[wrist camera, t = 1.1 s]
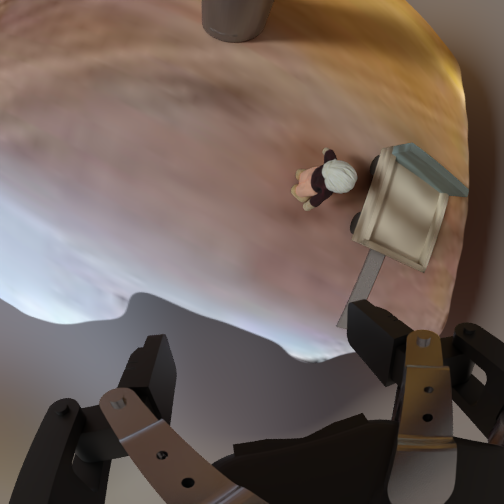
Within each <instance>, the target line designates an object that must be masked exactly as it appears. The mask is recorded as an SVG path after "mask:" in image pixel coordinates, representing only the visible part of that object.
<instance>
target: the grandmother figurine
mask: <svg viewBox="0 0 504 504" xmlns="http://www.w3.org/2000/svg"><path fill="white" fill-rule="evenodd" d="M323 155H324V165H321V166H317V167H312V168H310V169H308V170H305V169H299V170H297V172H296V178H297V180H299V185H298V184H296V185H294V186H293V187H292V189H291V193H292V194H293V195H294V196H295V197H296V198H297V199H298V200H299V201H300V202H305V203H304V204H303V208H304V210H306V211H309V210H311V209H313V208H314V207H317V206H319V205H320V204H321V203H322V202H323V201H324V200H326V199H327V198H329V197H330V196H331V195H332V193H333V192H335V193H340V194H342V193H347V192H349V191H350V190H351V189H352V188H353V187H354V185H355V182H356V180H357V173H356V171H355V170H354V169H353V167H352V166H351V165H350V164H348V163H346V162H344V161H337V158H336V155H335V153H334V151H333V150H331V149H329V148H325V149H323ZM310 196H313V197H312V198H311V199H310V200H308V199H309V198H310ZM306 201H307V202H306Z"/></svg>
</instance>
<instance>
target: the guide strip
mask: <svg viewBox="0 0 504 504" xmlns="http://www.w3.org/2000/svg"><path fill="white" fill-rule="evenodd" d="M384 257H385V255H383V254H381V253H379V252H377V251H375V250H372V249H370V250H369V253H368V255H367V258H366V260H365V263H364V265H363V268H362V270H361V272H360V275H359V277H358V280H357V282H356V284H355V286H354V289H353V291H352V293H351V296H350V298H349V300H348V302H347V304H346V307H345V309H344V311H343V313H342V315H341V317H340V319H339V321H338V323H337V327H339V328H343V329H347V311H348V304H349V303H350V302H354V301H358V300H362V299H367V297H368V295H369V293H370V290H371V288H372V286H373V284H374V281H375V279H376V276H377V274H378V272H379V269H380V267H381V264H382V262H383V259H384Z"/></svg>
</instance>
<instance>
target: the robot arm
mask: <svg viewBox="0 0 504 504" xmlns="http://www.w3.org/2000/svg"><path fill="white" fill-rule="evenodd" d="M273 2H274V0H202V24H203V28H204V29H205V31H206V32H207V33H208V34H209V35H211V36H212V37H214V38H216V39H219V40H221V41H226V42H243V41H247V40H250V39H252V38H254V37H256V36H257V35H259V34H260V33H261V32H262V30H263V28H264V26H265V23H266V21H267V18H268V15H269V13H270V10H271V8H272V5H273ZM347 338H348V342H349V344H350V346H351V347H352V348H353V349H354V350H355V351H356V353H357V354H358V355H359V356H360V357H361V358H362V360H363V361H364V362H365V363H366V364H367V365H368V367H369V368H370V369H371V370H372V372H373V373H374V374H375V375H376V376H377V377H378V379H379V380H380V381H381V382H382V383H383V385H384V386H385V387H387V386H390V385H392V384H394V383H396V384H397V385H398V386H397V390H396V396H395V401H394V407H393V413H392V418H391V420H367V419H366V418H365V416H364V414H363V413H361V414H358V415H355V416H352V417H350V418H347V419H344V420H341V421H337V422H334V423H332V424H331V425H328V426H326V427H325V428H323V429H321V430H319V431H317V432H315V433H313V434H311V435H309V436H307V437H304V438H297V439H265V440H259V441H254V442H247V443H241V444H234V445H233V448H234V454H231V455H228V456H226V457H224V458H221V459H220V460H218V461H216V462H214V463H213V464H210V463H208V462H207V461H206V460H205V459H204V458H203V457H202V456H201V455H199V454H198V453H197V452H196V451H195V450H194V449H193V448H192V447H191V446H190V445H189V444H188V443H187V442H185V441H184V440H183V439H182V438H181V437H180V436H179V435H178V434H177V433H176V432H175V431H174V430H173V429H172V428H171V427H170V422H171V414H172V406H173V399H174V392H175V391H174V390H175V385H176V377H177V375H176V374H177V373H176V366H175V362H174V359H173V356H172V353H171V350H170V346H169V343H168V339H167V337H166V335H165V334H161V335H150V336H148V337H147V339H146V341H145V344H144V347H141V348H137V349H136V350H135V351H134V352H133V353H132V354H131V356H130V358H129V360H128V363H127V365H126V369H125V370H124V372H123V375H122V377H121V380H120V382H119V385H118V387H117V388H116V389H112V390H110V391H108V392H107V393H105V394H104V395H103V396H102V397H101V399H100V402H99V405H96V406H91V407H86V408H81V407H80V405H79V404H78V403H77V401H76V400H74V399H71V398H65V399H60V400H58V401H56V402H54V403H53V404H52V405H51V406H50V407H49V409H48V411H47V413H46V415H45V417H44V419H43V421H42V423H41V425H40V427H39V429H38V431H37V433H36V435H35V438H34V440H33V442H32V444H31V447H30V449H29V451H28V454H27V456H26V458H25V461H24V463H23V466H22V468H21V470H20V473H19V476H18V478H17V481H16V484H15V487H14V490H13V492H12V495H11V499H10V501H9V504H105V496H106V490H107V482H108V476H109V471H110V466H111V460H112V459H115V458H121V457H125V456H130V458H131V459H132V460H133V462H134V463H135V465H136V466H137V467H138V469H139V470H140V471H141V473H142V474H143V475H144V477H145V478H146V479H147V481H148V482H149V483H150V484H151V486H152V487H153V488H154V489H155V490H156V492H157V493H158V494H159V495H160V496H161V498H162V499H163V500H164V501H165V502H166V503H167V504H504V343H503V342H502V341H500V340H499V339H498V338H496V337H495V336H493V335H492V334H490V333H489V332H487V331H486V330H484V329H483V328H481V327H480V326H478V325H476V324H473V323H461V324H458V325H457V326H456V327H455V330H454V334H453V336H451V337H446V338H440V337H439V336H438V335H437V334H436V333H434V332H432V331H429V330H416V331H414V330H412V329H411V328H410V327H408V326H407V325H406V324H404V323H403V322H402V321H400V320H398V318H396V317H395V316H393V315H392V314H391V313H390V312H388V311H387V310H385V309H382V308H380V307H377V306H376V307H375V306H374V305H372V304H371V303H370V302H369V301H367V300H366V299H362V300H358V301H354V302H350V303H349V304H348V311H347ZM474 364H476V365H478V366H479V367H480V368H481V369H482V370H483V371H485V373H486V376H487V382H486V384H485V386H484V385H483V384H482V383H481V382H480V381H479V380H478V379H477V378H476V377H475V376H473V375H472V374H471V373H472V370H473V367H474ZM452 400H453V401H454V402H455V403H456V404H457V405H458V406H459V407H460V408H461V410H462V411H463V412H464V413H465V414H466V415H467V416H468V417H469V418H470V420H471V421H472V422H473V423H474V424H475V425H476V426H477V428H478V429H479V430H480V431H481V432H482V433H483V434H484V436H485V437H486V438H487V439H488V443H482V442H477V441H472V440H467V439H462V438H457V437H453V406H452ZM74 453H75V457H74ZM73 457H74V460H73ZM72 460H73V463H72Z"/></svg>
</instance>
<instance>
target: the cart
mask: <svg viewBox="0 0 504 504" xmlns="http://www.w3.org/2000/svg"><path fill="white" fill-rule="evenodd" d="M370 173H371V174H372V175H374V176H373V180H372V183H371V186H370V189H369V192H368V195H367V198H366V201H365V203H364V206H363V209H362V212H359V213H357V214H356V215H355V216H354V218H353V219H352V222H351V225H350V231H351V233H352V234H353V236H352V239H351V240H352V241H354V242H357V243H359V244H361V245H363V246H366V247H368V248H370V249H372V250H375V251H377V252H379V253H381V254H383V255H386V256H388V257H390V258H392V259H394V260H396V261H399V262H401V263H403V264H405V265H407V266H409V267H411V268H413V269H416V270H418V271H421V272H423V273H424V272H425V270H426V267H427V265H428V262H429V259H430V257H431V254H432V251H433V248H434V245H435V242H436V239H437V236H438V233H439V230H440V227H441V223H442V220H443V217H444V213H445V209H446V206H447V202H448V198H449V196H460V197H467V196H468V191H469V189H468V188H466V187H465V186H464V185H463V184H462V183H461V182H460V181H459V180H458V179H457V178H456V177H454V176H453V175H452V174H451V173H450V172H449V171H448V170H446V169H445V168H444V167H443V166H442V165H440V164H439V163H438V162H437V161H436V160H434V159H433V158H432V157H431V156H429V155H428V154H427V153H426V152H424V151H423V150H422V149H420V148H419V147H418V146H416V145H415V144H414V143H407V144H402V145H397V146H392V147H387V148H383V149H382V150H381V154H380V155H378V156H377V157H375V158H374V160H373V161H372V163H371V166H370Z"/></svg>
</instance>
